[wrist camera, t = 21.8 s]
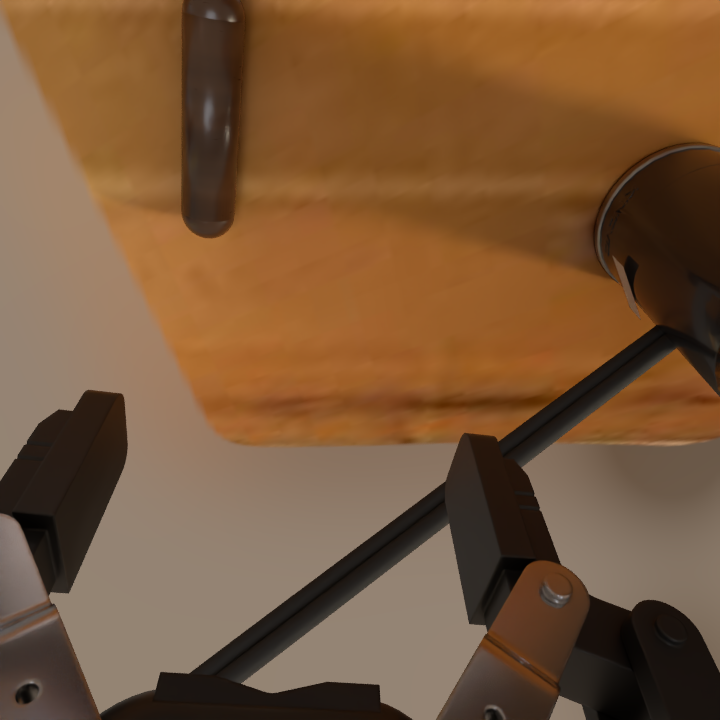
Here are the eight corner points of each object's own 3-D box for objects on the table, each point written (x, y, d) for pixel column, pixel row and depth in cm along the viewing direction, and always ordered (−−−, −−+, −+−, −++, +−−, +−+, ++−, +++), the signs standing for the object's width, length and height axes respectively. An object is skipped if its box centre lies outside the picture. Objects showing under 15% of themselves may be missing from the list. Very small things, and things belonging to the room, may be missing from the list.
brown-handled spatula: (239, 231, 36) (232, 250, 33) (184, 222, 36) (172, 241, 33) (265, -188, 25) (257, -205, 23) (186, -207, 25) (169, -226, 22)
